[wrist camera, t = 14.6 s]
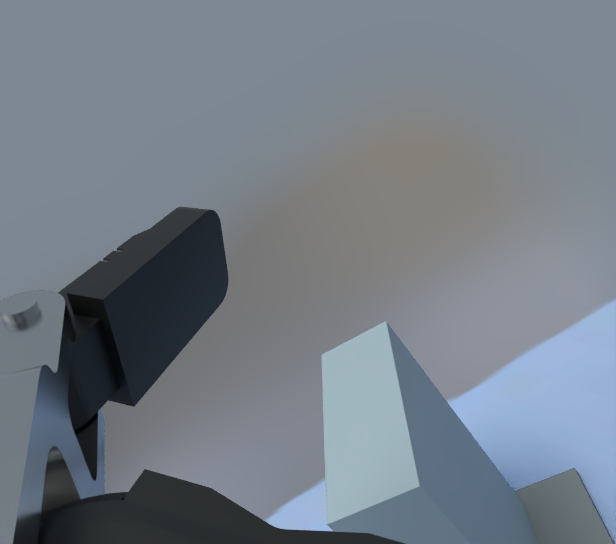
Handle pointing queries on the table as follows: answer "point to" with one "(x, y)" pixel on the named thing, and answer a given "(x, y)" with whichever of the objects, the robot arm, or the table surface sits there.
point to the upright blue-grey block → (407, 454)
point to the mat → (563, 511)
